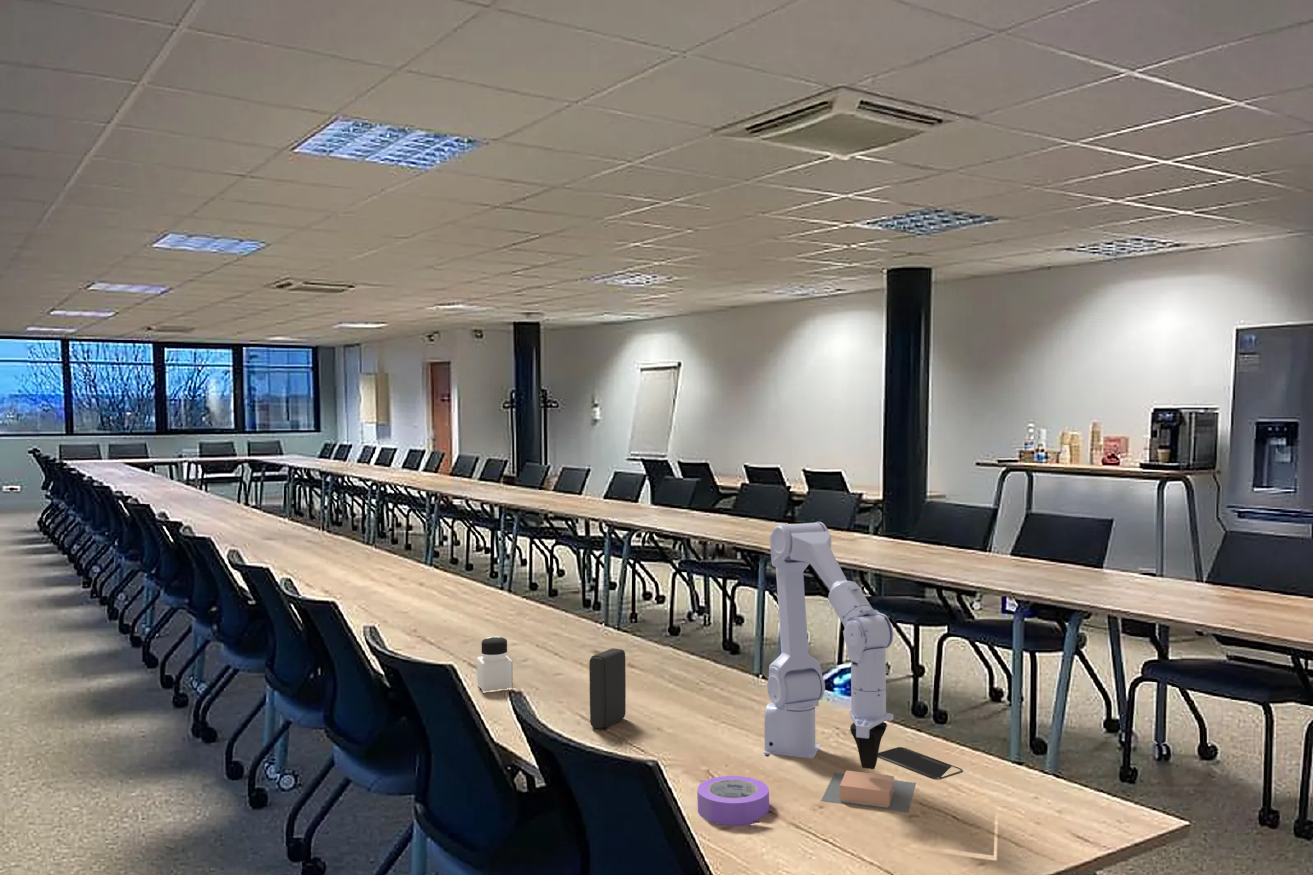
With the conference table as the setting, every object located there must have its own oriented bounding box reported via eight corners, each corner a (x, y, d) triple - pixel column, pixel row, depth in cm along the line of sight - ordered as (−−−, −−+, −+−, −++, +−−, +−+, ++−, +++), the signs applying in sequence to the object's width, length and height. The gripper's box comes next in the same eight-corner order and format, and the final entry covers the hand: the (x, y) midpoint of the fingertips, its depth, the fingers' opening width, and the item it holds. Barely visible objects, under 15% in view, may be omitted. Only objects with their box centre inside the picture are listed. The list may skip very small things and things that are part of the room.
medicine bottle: (512, 690, 223) (512, 640, 222) (482, 694, 220) (482, 643, 220) (506, 682, 229) (505, 633, 229) (477, 686, 227) (476, 636, 226)
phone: (936, 779, 164) (872, 754, 176) (936, 786, 164) (872, 760, 176) (965, 770, 168) (901, 746, 180) (965, 776, 168) (901, 751, 180)
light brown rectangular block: (846, 786, 161) (839, 801, 155) (846, 770, 161) (839, 785, 155) (894, 792, 158) (889, 808, 152) (894, 776, 158) (889, 791, 152)
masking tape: (682, 812, 153) (682, 788, 153) (729, 791, 161) (729, 769, 161) (737, 834, 145) (737, 809, 145) (784, 811, 153) (783, 788, 153)
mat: (820, 804, 155) (820, 800, 155) (834, 776, 167) (834, 772, 167) (908, 816, 150) (908, 812, 150) (915, 786, 162) (915, 782, 162)
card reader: (612, 715, 203) (611, 646, 203) (627, 718, 201) (627, 648, 201) (587, 727, 195) (587, 655, 195) (603, 730, 193) (603, 658, 193)
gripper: (887, 701, 150) (887, 786, 150) (897, 677, 163) (897, 755, 164) (843, 697, 152) (843, 780, 153) (856, 674, 166) (856, 750, 166)
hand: (868, 767), depth 158 cm, fingers closed
